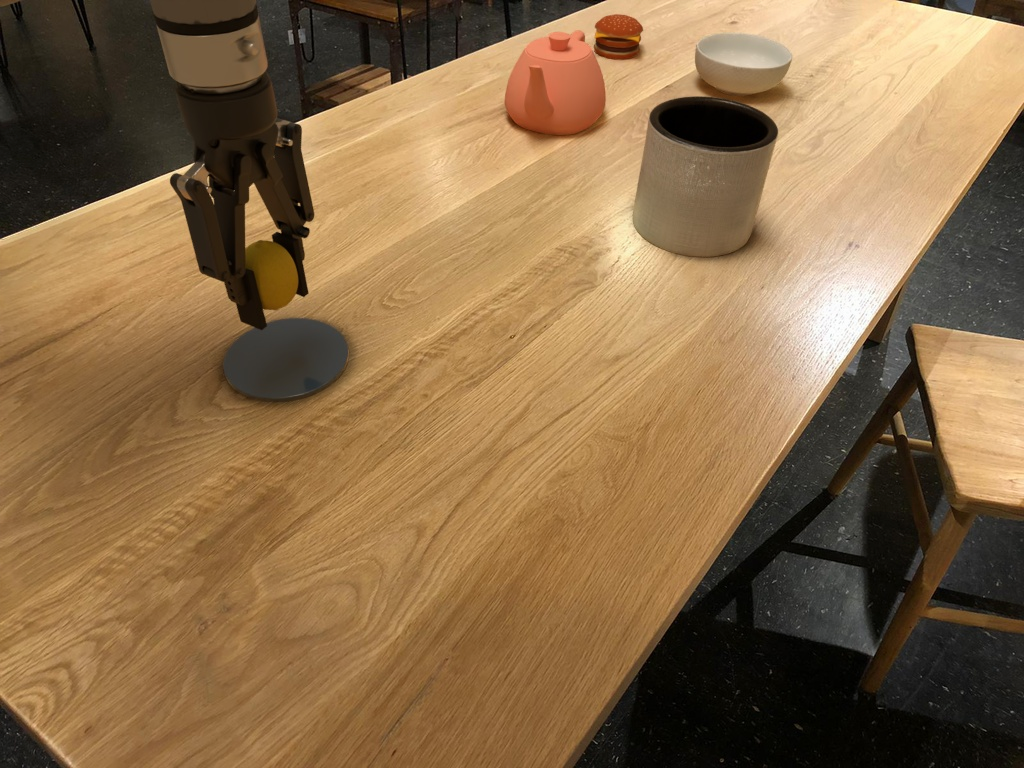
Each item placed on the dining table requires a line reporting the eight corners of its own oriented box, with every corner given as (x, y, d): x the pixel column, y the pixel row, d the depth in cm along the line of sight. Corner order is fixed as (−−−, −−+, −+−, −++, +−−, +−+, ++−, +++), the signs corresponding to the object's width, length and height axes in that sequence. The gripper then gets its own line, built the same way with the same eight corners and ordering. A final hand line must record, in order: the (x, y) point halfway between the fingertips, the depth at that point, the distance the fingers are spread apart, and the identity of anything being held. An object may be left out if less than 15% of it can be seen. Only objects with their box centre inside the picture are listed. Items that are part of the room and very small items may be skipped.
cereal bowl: (673, 89, 140) (680, 49, 135) (713, 63, 150) (721, 25, 145) (759, 115, 133) (770, 74, 128) (796, 86, 143) (807, 47, 138)
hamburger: (594, 41, 157) (597, 7, 153) (640, 45, 156) (645, 11, 152) (590, 57, 150) (593, 22, 146) (639, 62, 149) (644, 26, 145)
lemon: (236, 319, 76) (217, 251, 70) (265, 288, 80) (250, 221, 74) (286, 331, 75) (271, 262, 69) (313, 299, 79) (301, 231, 73)
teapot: (576, 159, 119) (584, 72, 110) (477, 139, 123) (477, 54, 114) (619, 99, 136) (629, 20, 127) (531, 83, 140) (535, 5, 131)
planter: (769, 257, 100) (803, 146, 90) (653, 269, 98) (674, 155, 87) (721, 196, 112) (746, 91, 101) (616, 205, 109) (631, 98, 98)
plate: (199, 380, 80) (195, 370, 79) (282, 315, 89) (280, 304, 88) (296, 425, 76) (293, 415, 75) (374, 352, 84) (372, 341, 83)
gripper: (166, 130, 54) (238, 373, 70) (332, 49, 66) (361, 272, 82) (92, 106, 56) (178, 346, 72) (265, 32, 68) (306, 252, 84)
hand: (275, 306), depth 77 cm, fingers closed on lemon, 5 cm apart
